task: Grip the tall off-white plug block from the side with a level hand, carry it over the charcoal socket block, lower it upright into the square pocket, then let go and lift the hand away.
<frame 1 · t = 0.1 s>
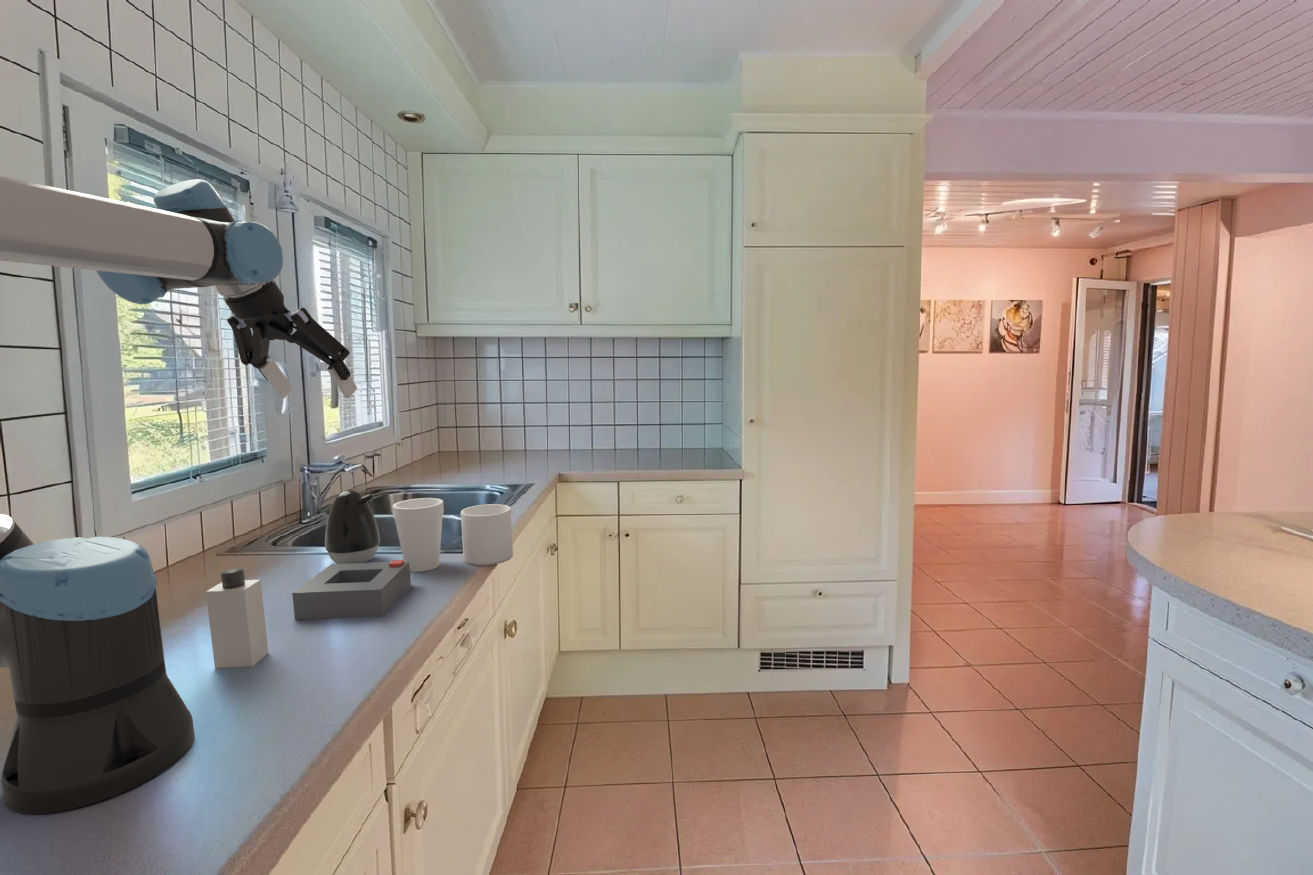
hand: (319, 393, 111), 36 cm above the worktop, tool tilted 35°, fingers open, 13 cm apart
foam cup: (422, 567, 127), on the worktop
pump dispenser: (355, 562, 131), on the worktop
plug: (242, 660, 89), on the worktop
socket: (356, 600, 110), on the worktop
mug: (489, 556, 133), on the worktop
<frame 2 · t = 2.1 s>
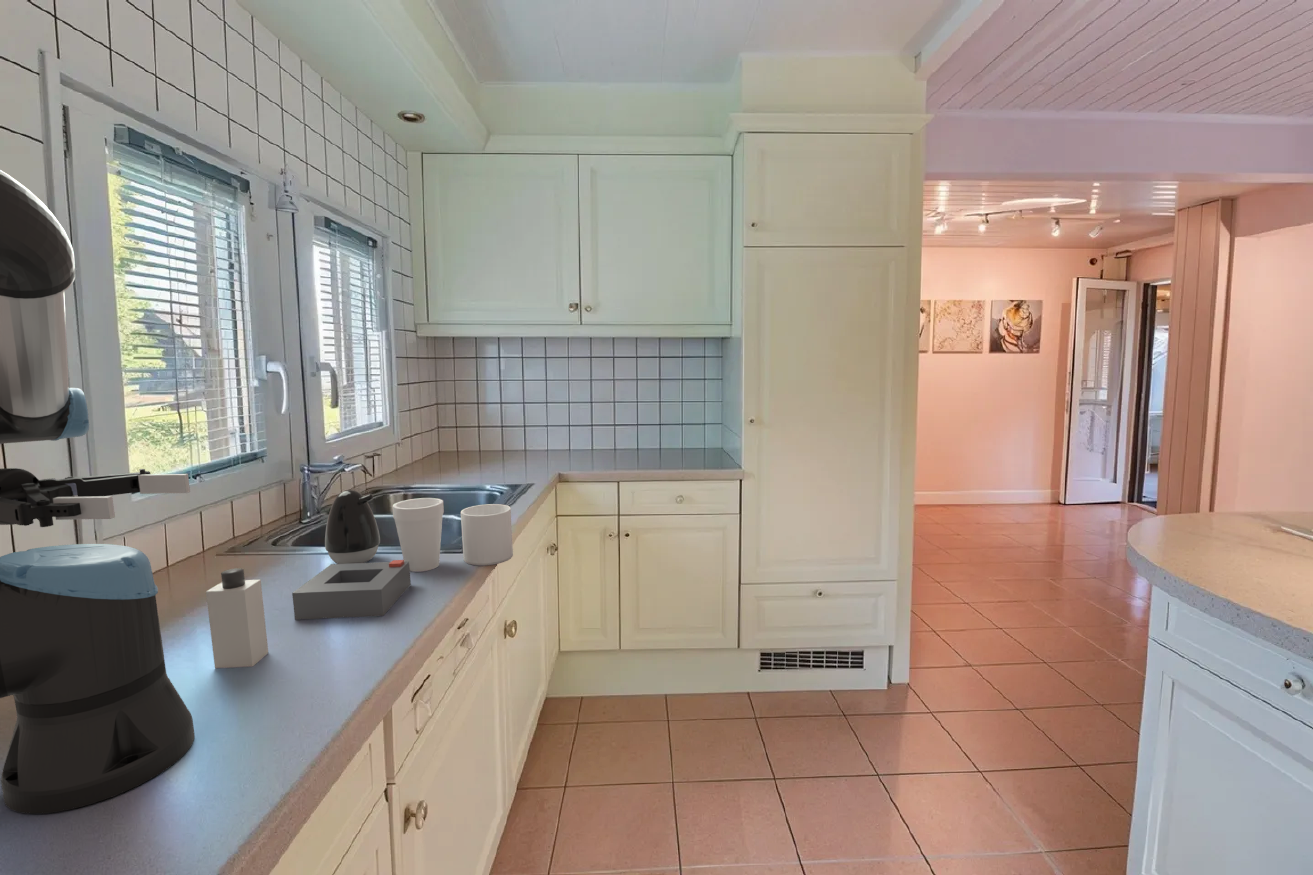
hand: (152, 494, 85), 24 cm above the worktop, tool horizontal, fingers open, 13 cm apart
nothing on the worktop moved.
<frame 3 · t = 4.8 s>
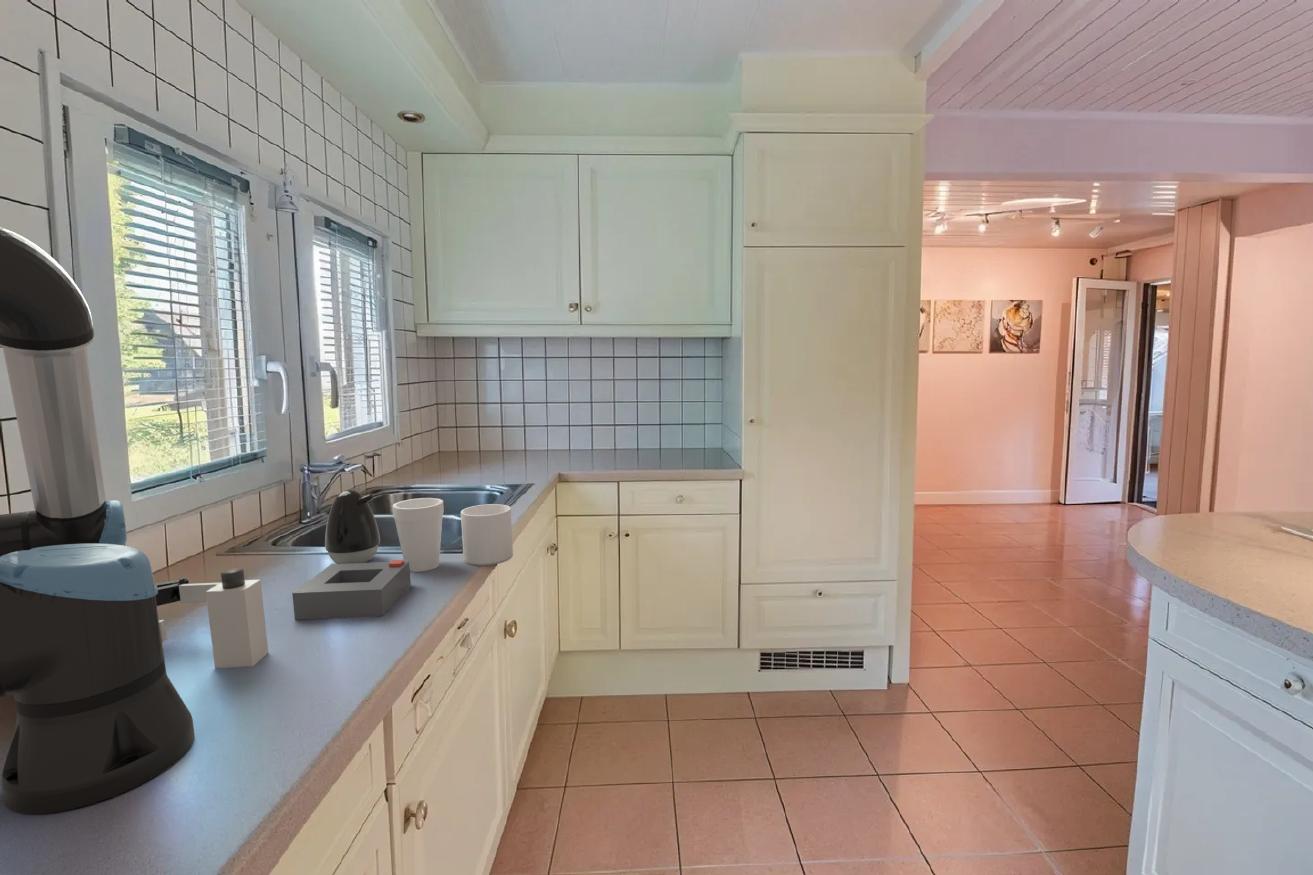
hand: (198, 609, 89), 7 cm above the worktop, tool horizontal, fingers open, 13 cm apart
nothing on the worktop moved.
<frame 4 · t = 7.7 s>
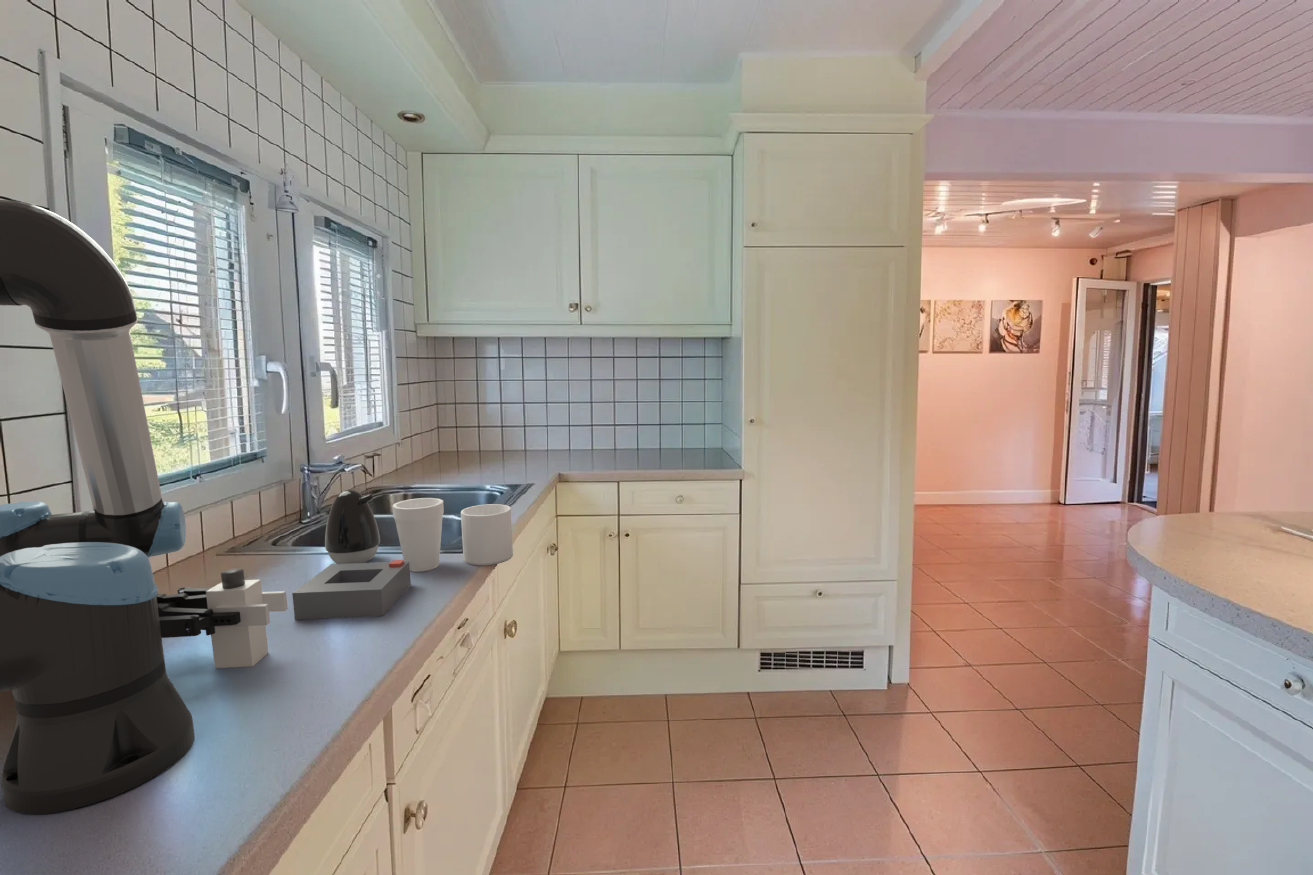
hand: (276, 607, 88), 8 cm above the worktop, tool horizontal, fingers closed on plug, 4 cm apart
plug: (242, 660, 89), on the worktop, touching gripper
everything else where it was.
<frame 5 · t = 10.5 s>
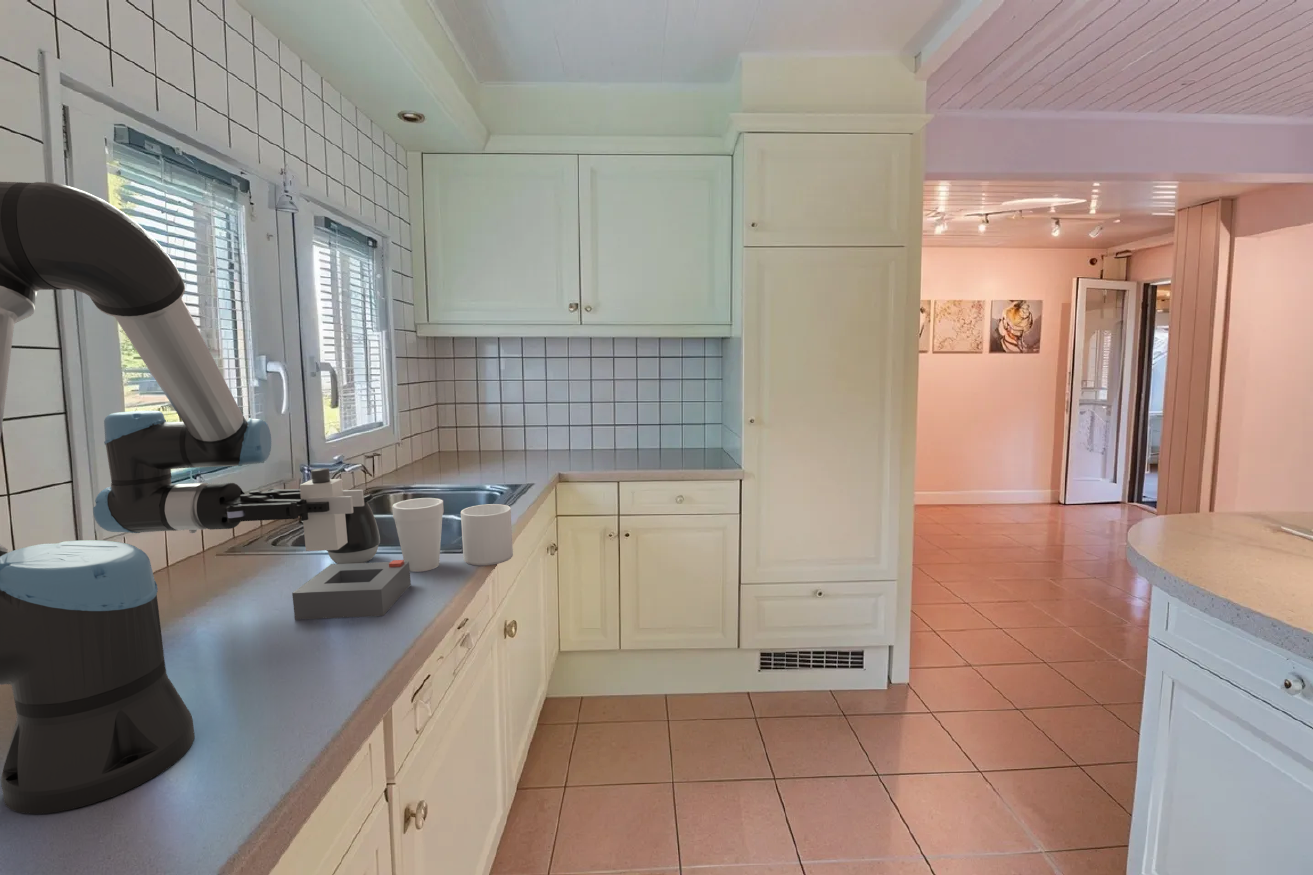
hand: (357, 501, 104), 18 cm above the worktop, tool horizontal, fingers closed on plug, 4 cm apart
plug: (327, 546, 105), point 11 cm above the worktop, touching gripper
everything else where it was.
when the fingers open (10 cm above the worktop, at t = 13.4 s): plug drops 1 cm, resting on socket.
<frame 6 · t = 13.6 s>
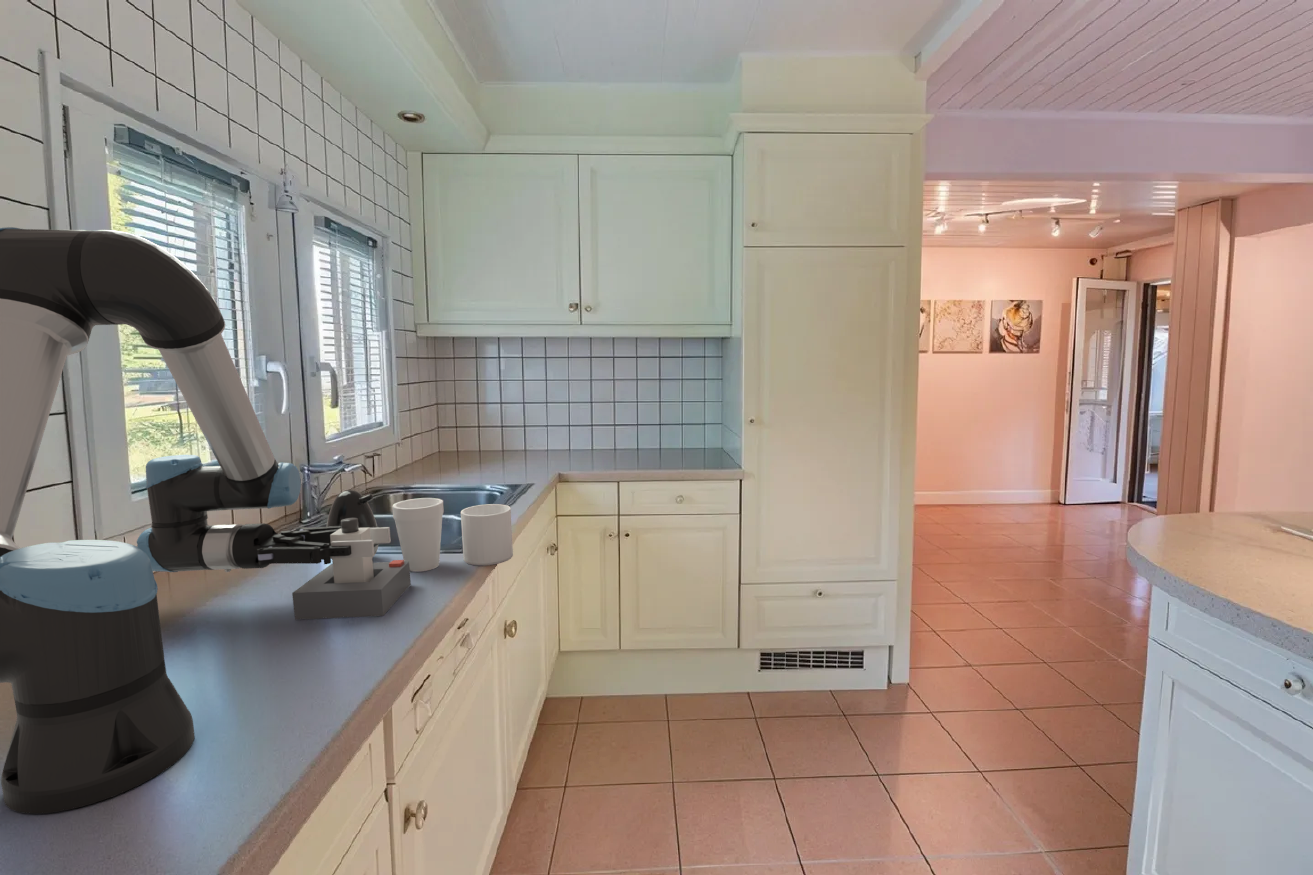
hand: (381, 541, 109), 10 cm above the worktop, tool horizontal, fingers open, 7 cm apart
plug: (355, 592, 110), point 1 cm above the worktop, touching socket
everything else where it was.
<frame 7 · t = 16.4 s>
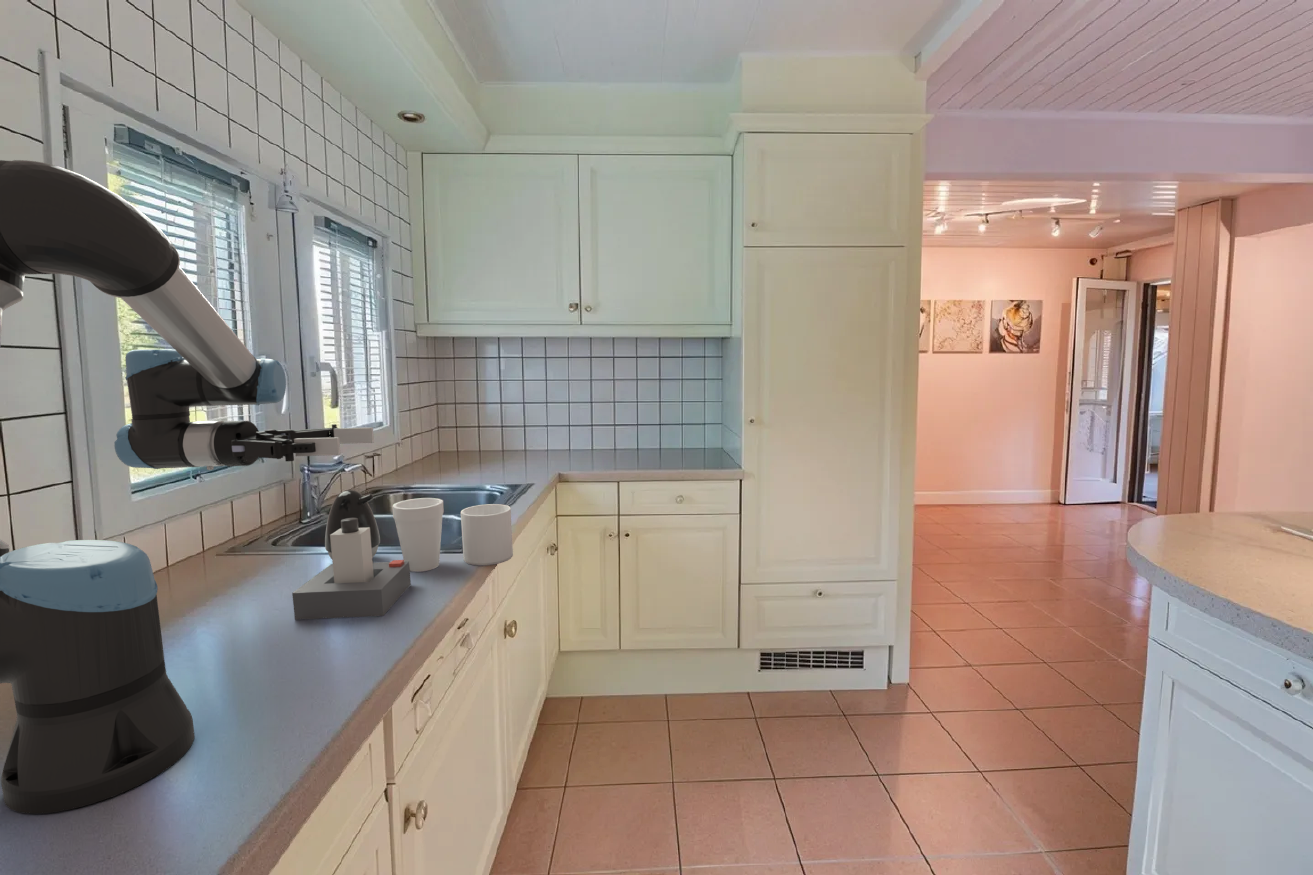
hand: (357, 440, 106), 28 cm above the worktop, tool horizontal, fingers open, 13 cm apart
nothing on the worktop moved.
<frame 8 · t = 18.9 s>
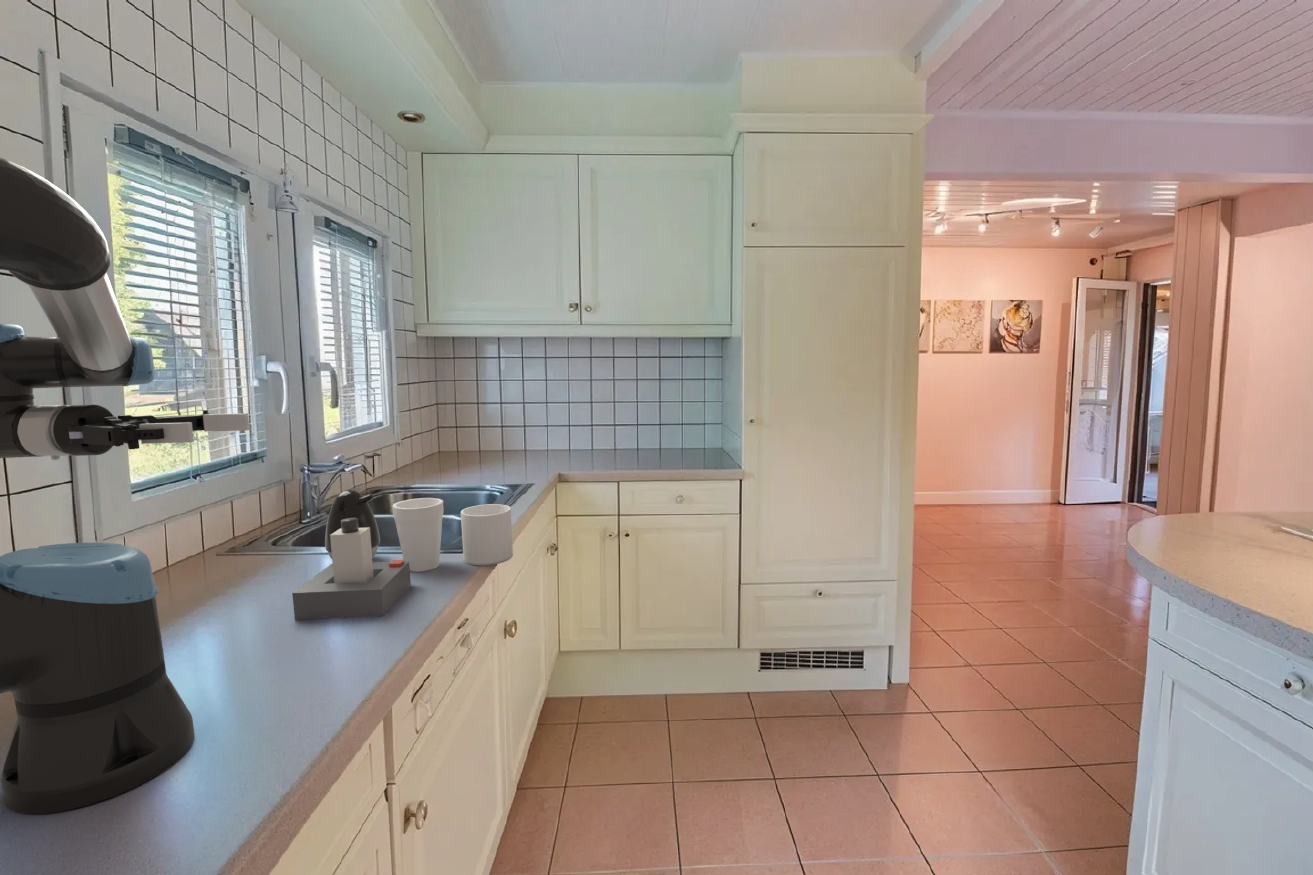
hand: (221, 426, 95), 32 cm above the worktop, tool horizontal, fingers open, 13 cm apart
nothing on the worktop moved.
at the end: plug 0.1 cm off-centre on the socket, point 1.5 cm above the socket's base; plug tilted 0°; the gripper is holding nothing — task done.
